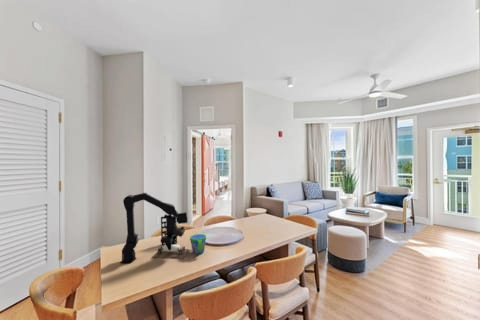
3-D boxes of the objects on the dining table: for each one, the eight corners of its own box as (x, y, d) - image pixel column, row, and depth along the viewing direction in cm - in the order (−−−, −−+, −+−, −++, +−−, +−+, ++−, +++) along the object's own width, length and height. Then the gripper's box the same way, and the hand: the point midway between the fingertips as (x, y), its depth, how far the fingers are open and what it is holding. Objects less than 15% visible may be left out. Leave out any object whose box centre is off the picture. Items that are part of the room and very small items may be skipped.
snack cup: (190, 248, 148) (189, 233, 148) (205, 246, 150) (205, 232, 150) (190, 258, 133) (190, 241, 133) (207, 255, 135) (207, 239, 135)
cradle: (152, 257, 134) (152, 251, 134) (160, 250, 145) (160, 244, 145) (183, 258, 133) (183, 251, 133) (189, 250, 144) (189, 244, 144)
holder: (161, 246, 151) (160, 217, 153) (160, 243, 158) (160, 216, 160) (177, 244, 155) (177, 216, 158) (176, 241, 162) (176, 214, 164)
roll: (162, 253, 137) (162, 246, 137) (165, 250, 142) (165, 243, 142) (177, 253, 137) (177, 246, 137) (179, 250, 141) (179, 243, 141)
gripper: (177, 229, 129) (178, 254, 129) (187, 220, 148) (188, 243, 148) (159, 229, 130) (160, 254, 130) (171, 220, 149) (172, 243, 149)
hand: (171, 248), depth 139 cm, fingers open, 5 cm apart
